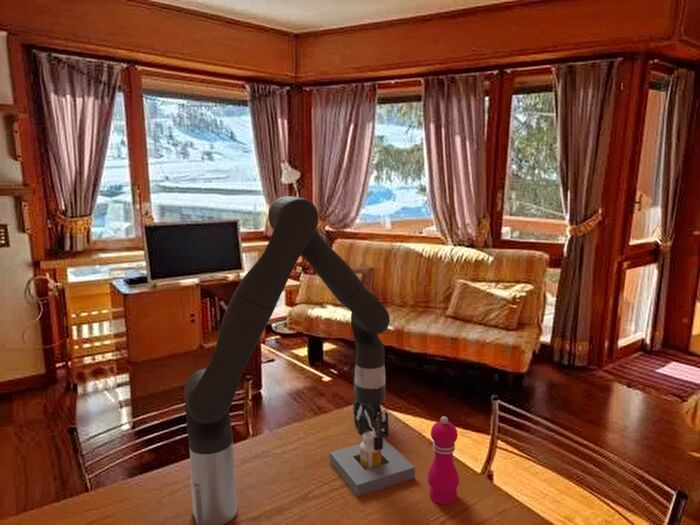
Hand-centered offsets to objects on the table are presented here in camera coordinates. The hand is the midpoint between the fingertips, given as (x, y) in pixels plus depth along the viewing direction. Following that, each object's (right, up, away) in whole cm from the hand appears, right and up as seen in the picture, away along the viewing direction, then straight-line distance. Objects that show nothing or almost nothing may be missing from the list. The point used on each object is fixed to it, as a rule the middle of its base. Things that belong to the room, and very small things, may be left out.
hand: (370, 441), depth 128 cm
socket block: (0, -8, +1) cm, 8 cm away
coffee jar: (0, -4, +27) cm, 27 cm away
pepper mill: (+17, -10, -9) cm, 21 cm away
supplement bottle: (0, -8, +1) cm, 8 cm away
